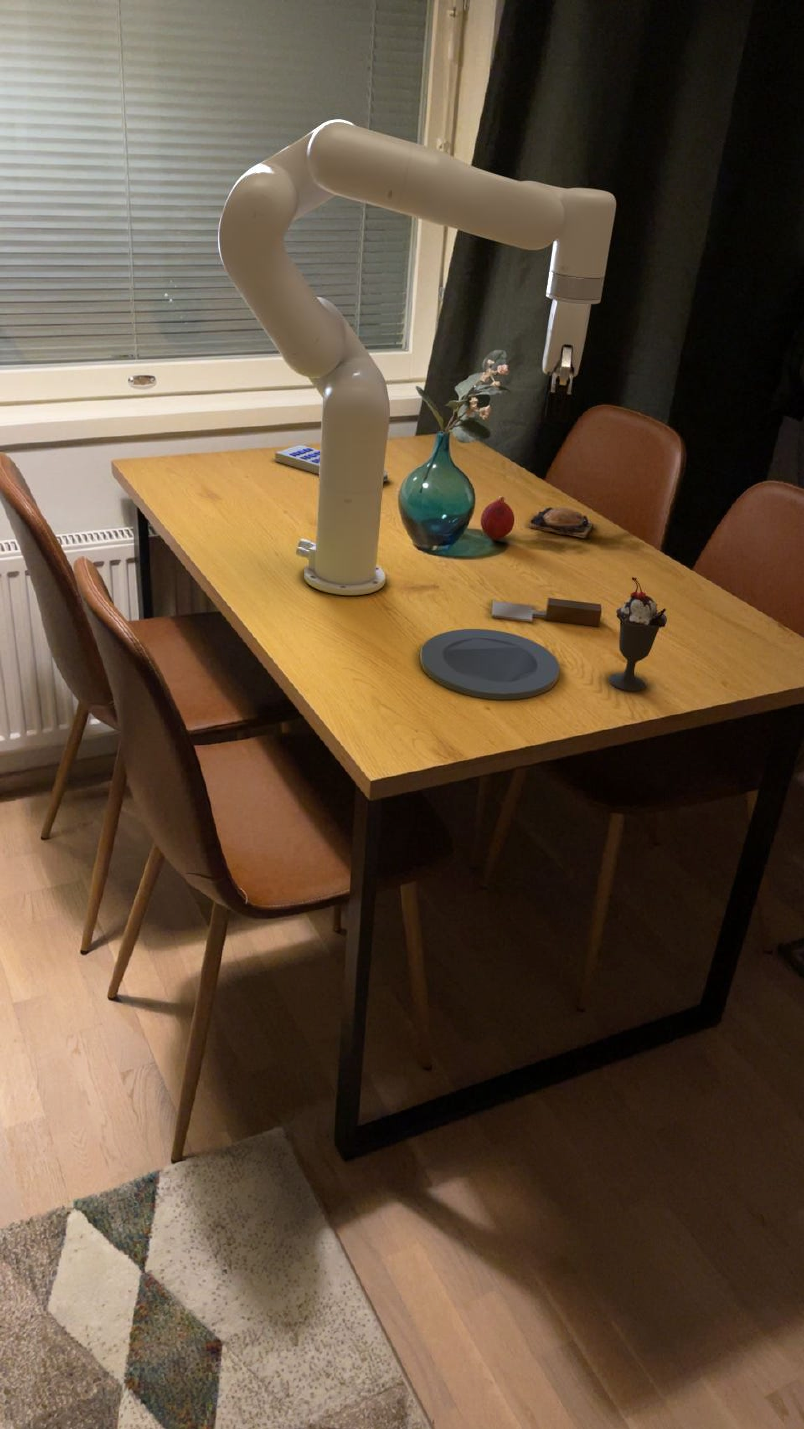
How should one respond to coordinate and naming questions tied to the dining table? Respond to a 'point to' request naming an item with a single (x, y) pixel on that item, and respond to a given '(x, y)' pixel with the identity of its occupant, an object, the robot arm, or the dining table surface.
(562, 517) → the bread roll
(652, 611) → the sundae
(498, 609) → the spatula
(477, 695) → the plate
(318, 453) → the remote control
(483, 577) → the dining table surface
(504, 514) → the onion
